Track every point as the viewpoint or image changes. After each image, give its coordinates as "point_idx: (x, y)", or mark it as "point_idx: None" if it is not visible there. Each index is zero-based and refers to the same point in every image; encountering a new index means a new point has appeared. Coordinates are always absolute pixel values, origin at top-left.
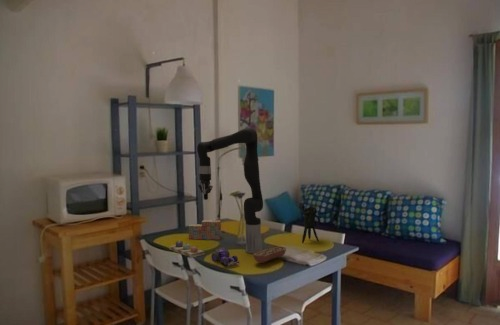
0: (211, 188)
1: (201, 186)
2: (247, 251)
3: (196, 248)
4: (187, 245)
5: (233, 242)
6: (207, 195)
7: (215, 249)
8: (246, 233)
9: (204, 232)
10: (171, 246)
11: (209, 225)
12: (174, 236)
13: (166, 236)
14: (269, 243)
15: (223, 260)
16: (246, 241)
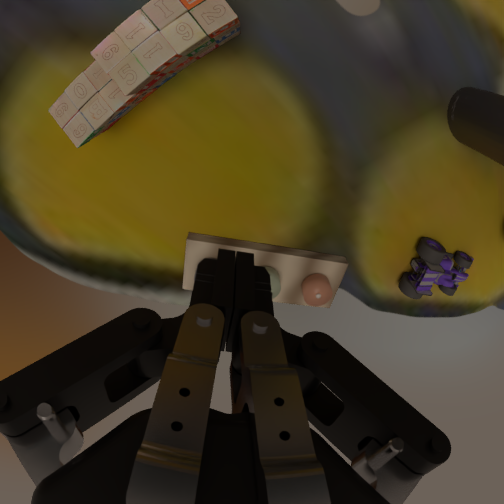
0: (412, 421)
1: (81, 434)
2: (459, 141)
3: (331, 294)
4: (278, 293)
5: (343, 43)
6: (271, 310)
7: (417, 292)
8: (501, 162)
9: (160, 80)
10: (188, 285)
11: (174, 58)
12: (30, 145)
13: (14, 169)
14: (473, 8)
15: (442, 290)
16: (478, 150)
